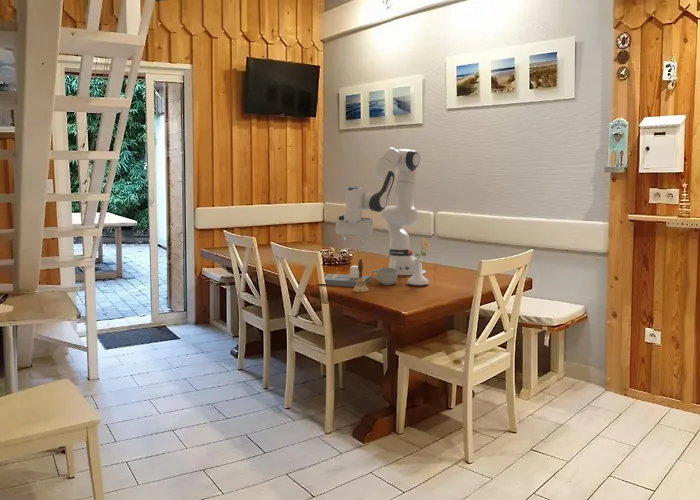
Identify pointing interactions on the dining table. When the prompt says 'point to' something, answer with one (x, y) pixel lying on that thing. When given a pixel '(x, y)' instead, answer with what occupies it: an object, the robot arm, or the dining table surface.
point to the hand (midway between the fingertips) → (353, 243)
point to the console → (343, 280)
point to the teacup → (386, 275)
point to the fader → (354, 272)
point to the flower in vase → (418, 277)
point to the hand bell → (360, 280)
